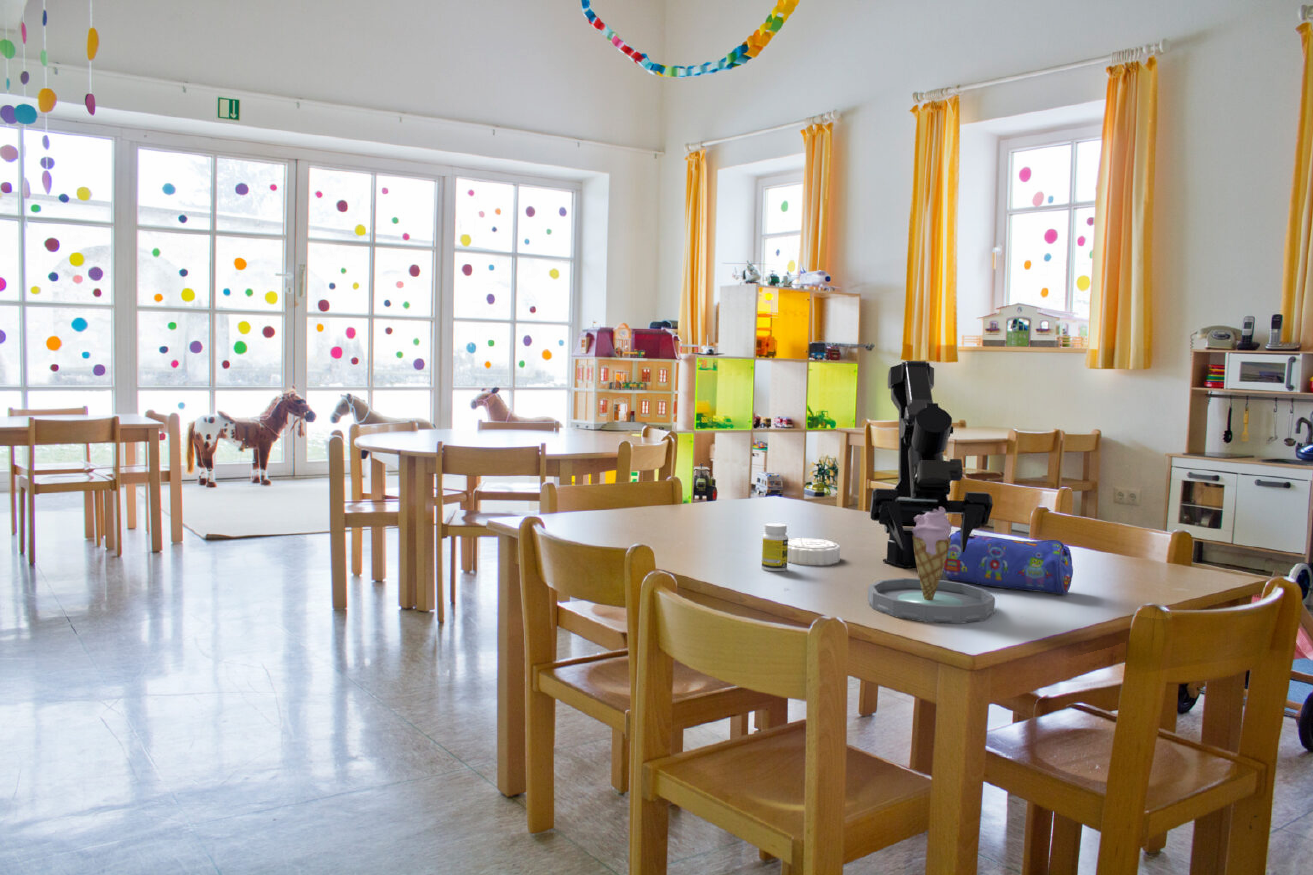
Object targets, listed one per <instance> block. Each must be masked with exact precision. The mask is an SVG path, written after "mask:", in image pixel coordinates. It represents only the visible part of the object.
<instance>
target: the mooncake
mask: <svg viewBox="0 0 1313 875" xmlns="http://www.w3.org/2000/svg"><path fill="white" fill-rule="evenodd" d="M787 554H788V555H787V563H792V564H798V565H805V566H807V565H809V566H816V565H817V566H825V565H828V566H829V565H833V564H837V563H840V561H841V560H840V559H841V558H840V557H841V545H839V544H837V543H836V542H833V541H832V540H827V539H824V538H823V539H822V538H813V537H812V538H810V537H796V538H788V553H787Z"/></svg>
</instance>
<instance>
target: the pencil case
mask: <svg viewBox="0 0 1313 875" xmlns="http://www.w3.org/2000/svg"><path fill="white" fill-rule="evenodd" d="M949 537H950V538H951V542H950V546H949V550H948V555H947V558H946V562H945V565H944V568H943V572H944V575H945V576H946V577H947V579H948V581H950V580H951V581H955V582H958V583H969V584H976V585H981V586H987V587H988V586H989V587H994V588H995V587H996V588H1002V589H1010V590H1011V589H1014V590H1022V591H1032V592H1033V591H1036V592H1043V593H1049V594H1058V595H1061V596H1062V595H1067V594H1068V592H1069V590H1070V588H1071V584H1072V580H1073V575H1074V567H1073V559H1072V553H1071V550H1070V548H1069V546H1068V545H1065V544H1064V543H1062V541H1061V540H1058V539H1046V540H1036V541H1035V540H1033V541H1032V540H1030V541H1029V540H1018V539H1009V538H1003V537H997V536H996V537H995V536H988V535H980V534H979V535H978V534H973V533H971V534H970V536H969V538H968V542H967V545H966V549H965V552H962V550H961V528H960V529H959V530H956V531H955V532H954V533H952V534H951V533H950V535H949Z"/></svg>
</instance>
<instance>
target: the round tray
mask: <svg viewBox="0 0 1313 875" xmlns="http://www.w3.org/2000/svg"><path fill="white" fill-rule="evenodd" d="M867 588H868V589H867V602H868V604H869V606H870V607H871V609H872V608H873V610H876V611H877V610H878V612H880V613H882V614H885V613H887V614H886V615H888V614H890V615H889V616H891V615H892V616H891V617H894V616H897V617H896V618H899V617H901V619H905V618H907V619H906V620H910V619H914V620H913V621H917V620H921V621H920V622H923V621H926V622H925V623H936V622H942V623H941V624H964V623H965V624H966V623H976V622H981V621H987V620H988V619H989V618H991V617H992V616H994V615H995V608H996V607H995V604H996V602H995V601H996V598H995V596H994V595H992V594H991V593H990V592H989V591H988V590H987V589H983V588H980V587H976V586H972V585H970V584H966V583H964V582H957V581H950V580H943V579H942V580H941V579H940V580H939V583H938V586H937V589H936V592H935V595H934V597H933V600H925V599H924V597H923V592H922V588H921V584H920V579H919V578H912V577H910V578H909V577H902V578H901V577H899V578H891V579H890V578H889V579H881V580H877V581H875V582H873V583H871V584H869V585H867Z"/></svg>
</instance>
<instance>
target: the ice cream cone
mask: <svg viewBox="0 0 1313 875" xmlns="http://www.w3.org/2000/svg"><path fill="white" fill-rule="evenodd" d="M945 512H946V511H945V509H944V508H943V507H941V506H940V507H939V510H937V509H933V513H930V512H927V513H925V514H924V515H917V516H916V517H914V521H915V522H916V523H917V524H916V526H915V527H914V528H913V529H912V532H913V535H912V538H913V546H914V554H915V559H916V565H917V567H916V569H917V575H918V579H920V584H921V588H922V592H923V597H924V599H925V600H933V597H934V595H935V592H936V589H937V586H938V583H939V580H941V576H942V574H943V572H944V569H943V568H944V565H945V562H946V558H947V555H948V550H949V546H950V542H951V538H950V537H949V536H950V535H951V532H952V527H953V526H952V523H951V521H949V519H948V517H949V516H948V515H945V514H946V513H945Z"/></svg>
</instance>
